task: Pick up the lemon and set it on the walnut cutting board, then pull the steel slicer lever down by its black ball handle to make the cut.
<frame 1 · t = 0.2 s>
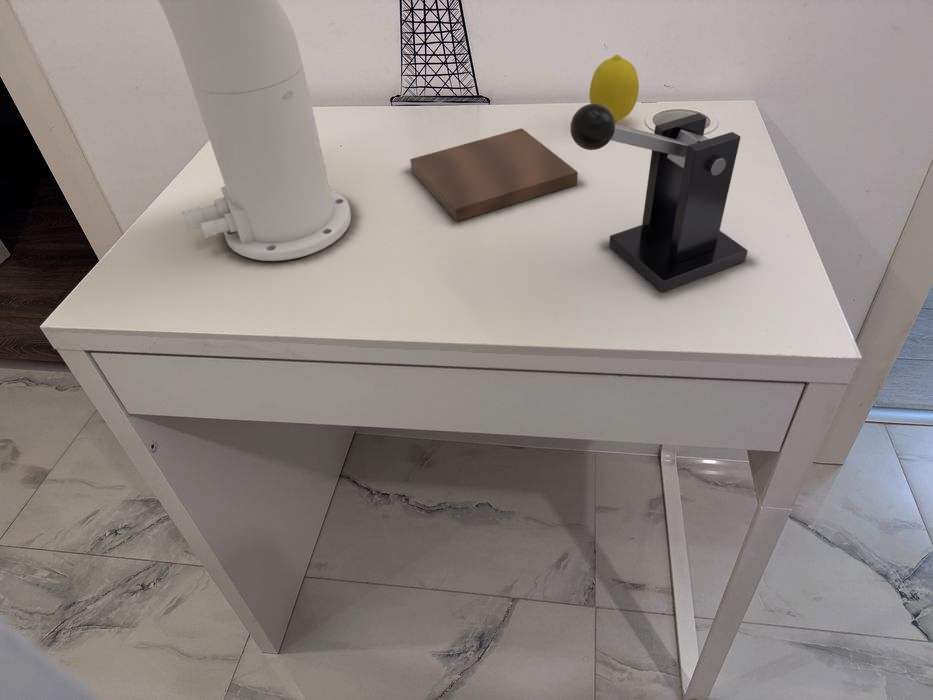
board: (492, 177, 75), on the table
slicer lever: (645, 139, 53), point 12 cm above the table, hinge at 25.0°
lever stand: (675, 253, 63), on the table
lemon: (610, 125, 82), on the table
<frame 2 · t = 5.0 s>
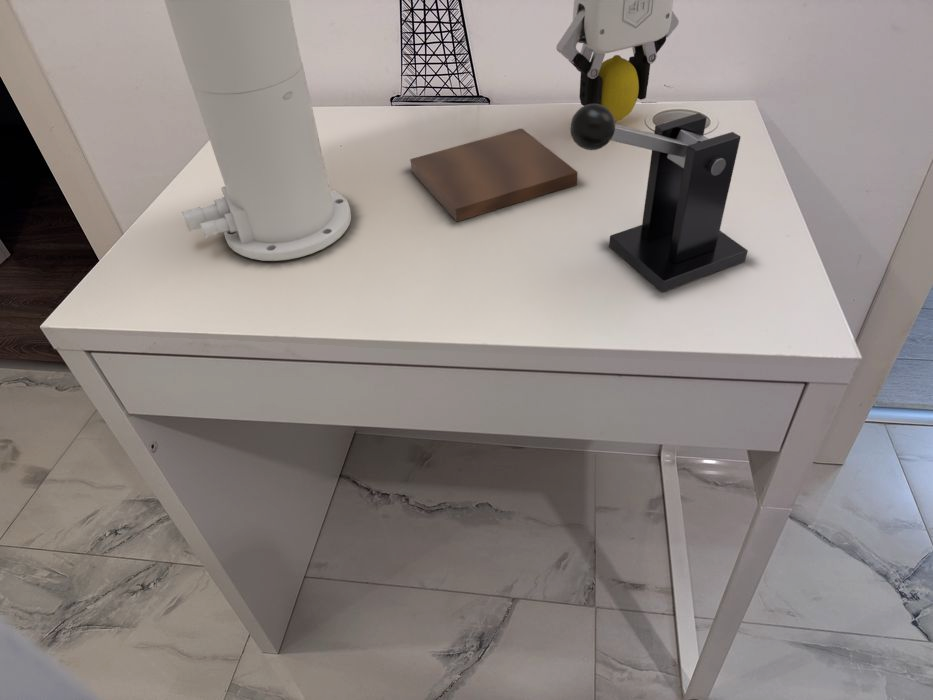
hand: (613, 100, 80), 3 cm above the table, tool pointing down, fingers closed on lemon, 5 cm apart
lemon: (610, 125, 82), on the table, touching gripper
everything else where it was.
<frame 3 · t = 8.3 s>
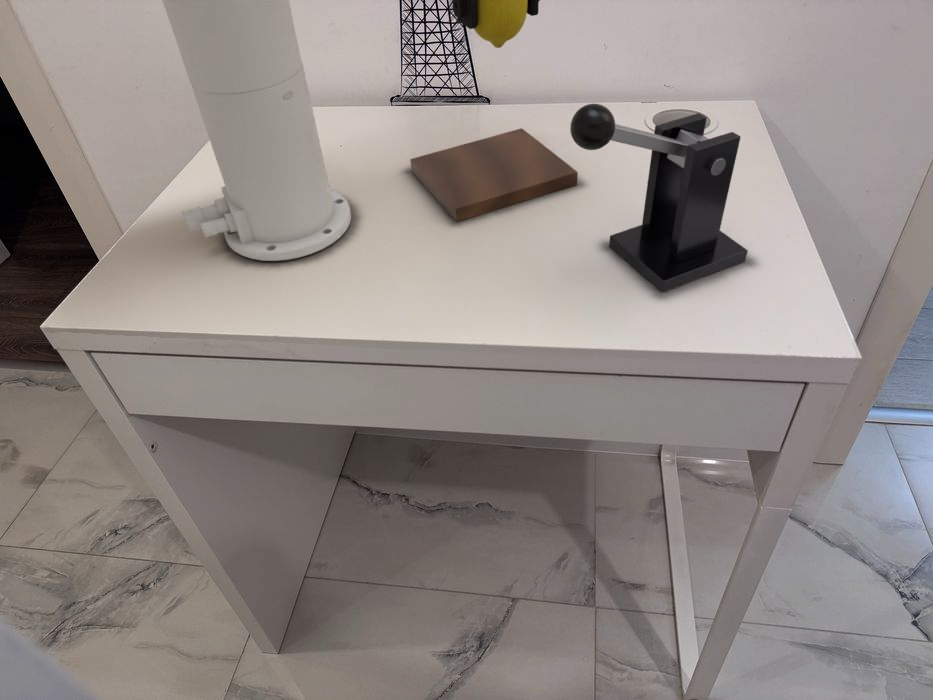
hand: (497, 16, 64), 16 cm above the table, tool pointing down, fingers closed on lemon, 5 cm apart
lemon: (498, 49, 66), point 13 cm above the table, touching gripper
everything else where it was.
when the fingers open (4 cm above the table, at t = 11.5 s): lemon stays where it is, resting on board.
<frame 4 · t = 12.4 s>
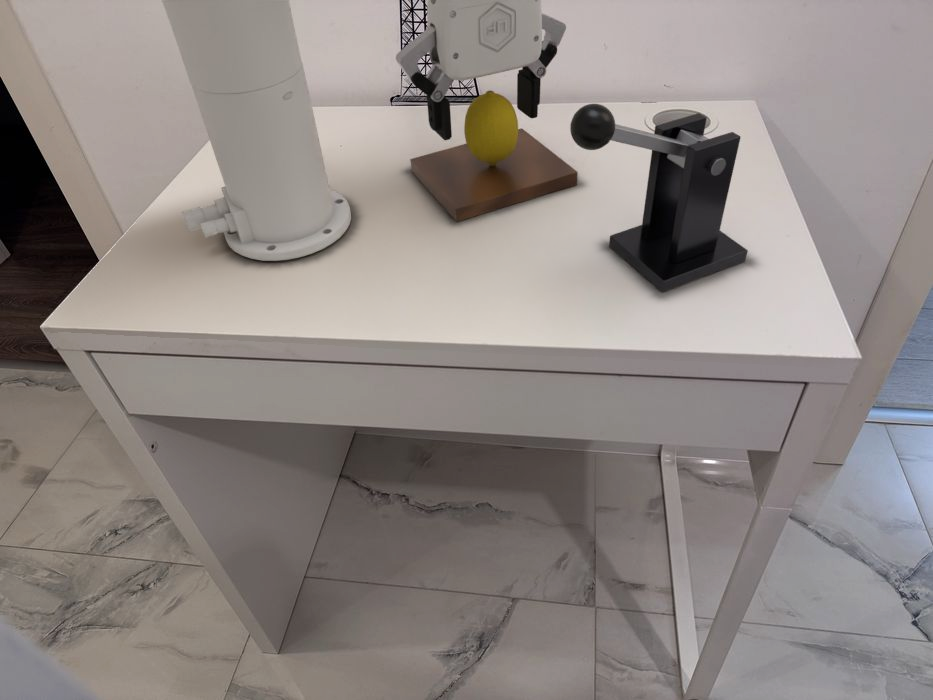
hand: (485, 123, 70), 6 cm above the table, tool pointing down, fingers open, 9 cm apart
lemon: (492, 166, 74), point 1 cm above the table, touching board
everything else where it was.
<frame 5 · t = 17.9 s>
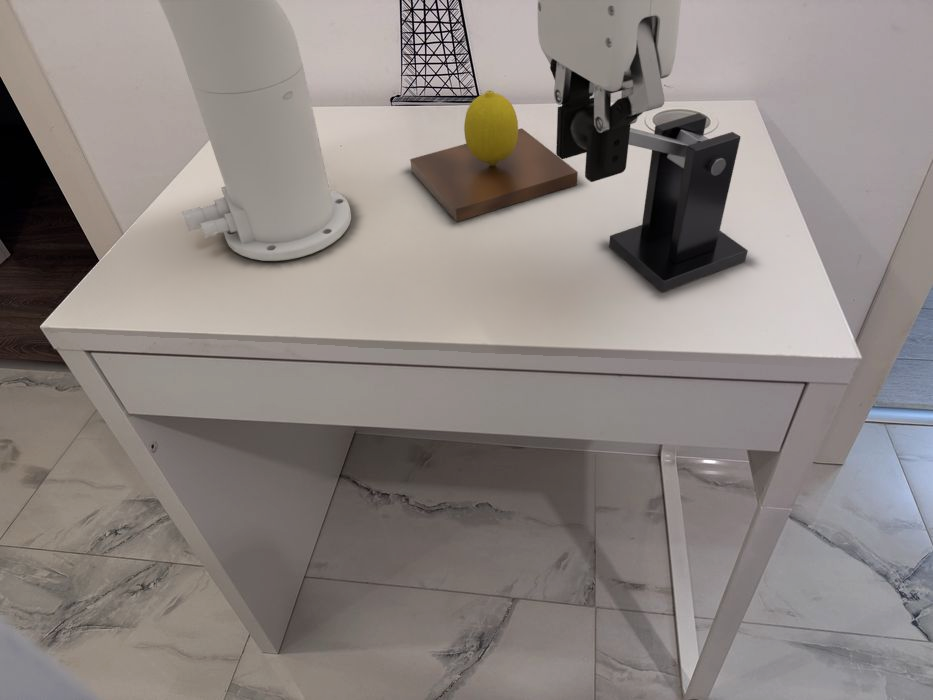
hand: (590, 162, 52), 12 cm above the table, tool pointing down, fingers closed on slicer lever, 3 cm apart
slicer lever: (645, 139, 53), point 12 cm above the table, hinge at 25.0°, touching gripper
everything else where it was.
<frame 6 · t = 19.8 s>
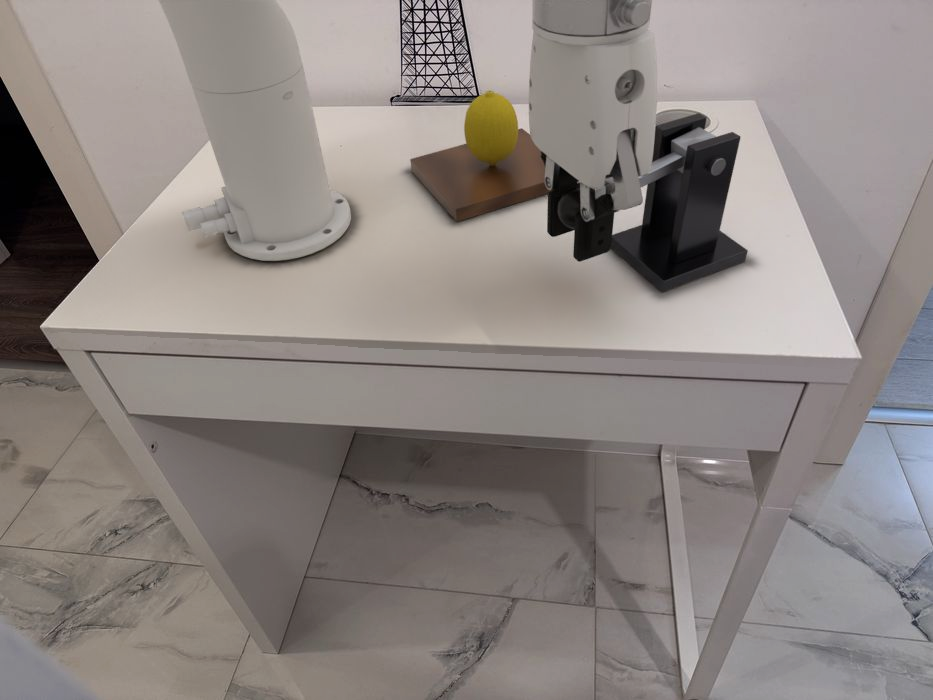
hand: (578, 240, 56), 5 cm above the table, tool pointing down, fingers closed on slicer lever, 3 cm apart
slicer lever: (635, 180, 55), point 9 cm above the table, hinge at -9.9°, touching gripper
everything else where it was.
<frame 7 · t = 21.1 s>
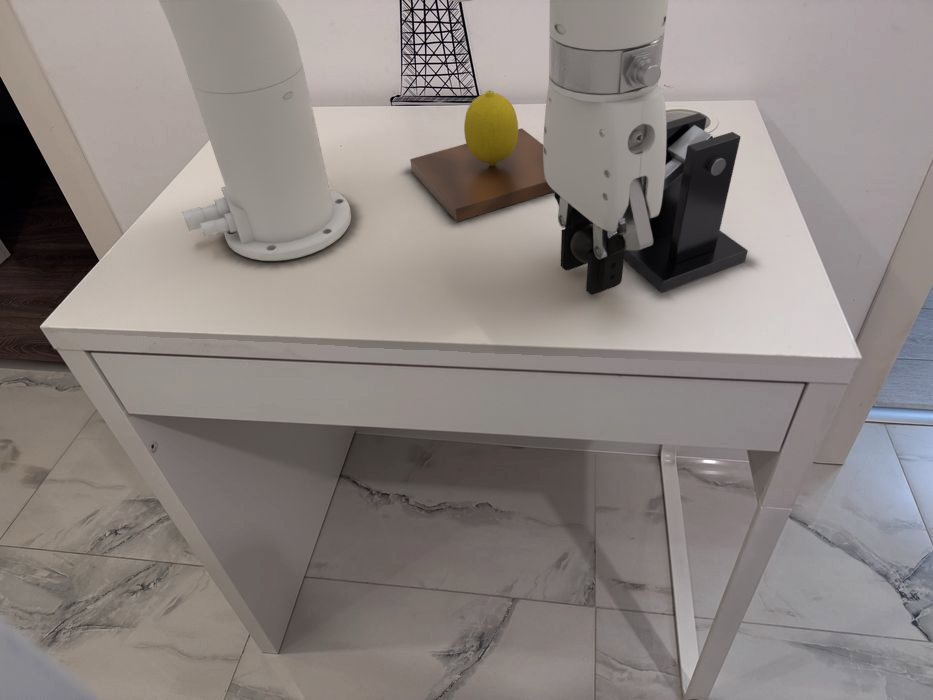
hand: (590, 274, 59), 1 cm above the table, tool pointing down, fingers closed on slicer lever, 3 cm apart
slicer lever: (640, 199, 56), point 7 cm above the table, hinge at -31.0°, touching gripper
everything else where it was.
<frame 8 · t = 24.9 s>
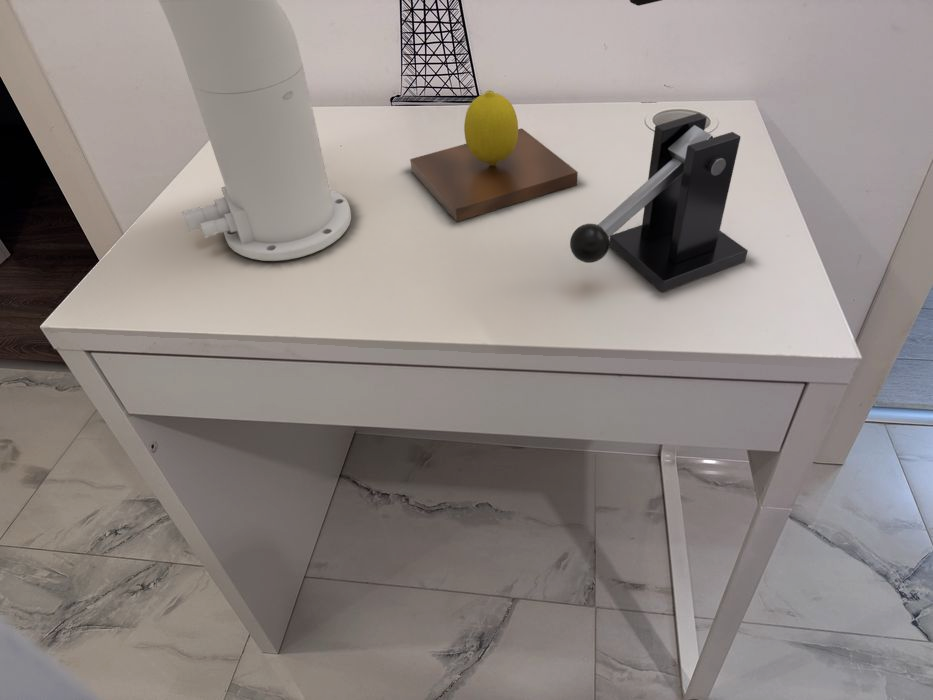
slicer lever: (640, 198, 56), point 7 cm above the table, hinge at -30.5°
everything else where it was.
at the end: lemon inside the target area on the board (0.1 cm from its centre), point 1.3 cm above the board's base; slicer lever at -30° (first picture: +25°) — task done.
